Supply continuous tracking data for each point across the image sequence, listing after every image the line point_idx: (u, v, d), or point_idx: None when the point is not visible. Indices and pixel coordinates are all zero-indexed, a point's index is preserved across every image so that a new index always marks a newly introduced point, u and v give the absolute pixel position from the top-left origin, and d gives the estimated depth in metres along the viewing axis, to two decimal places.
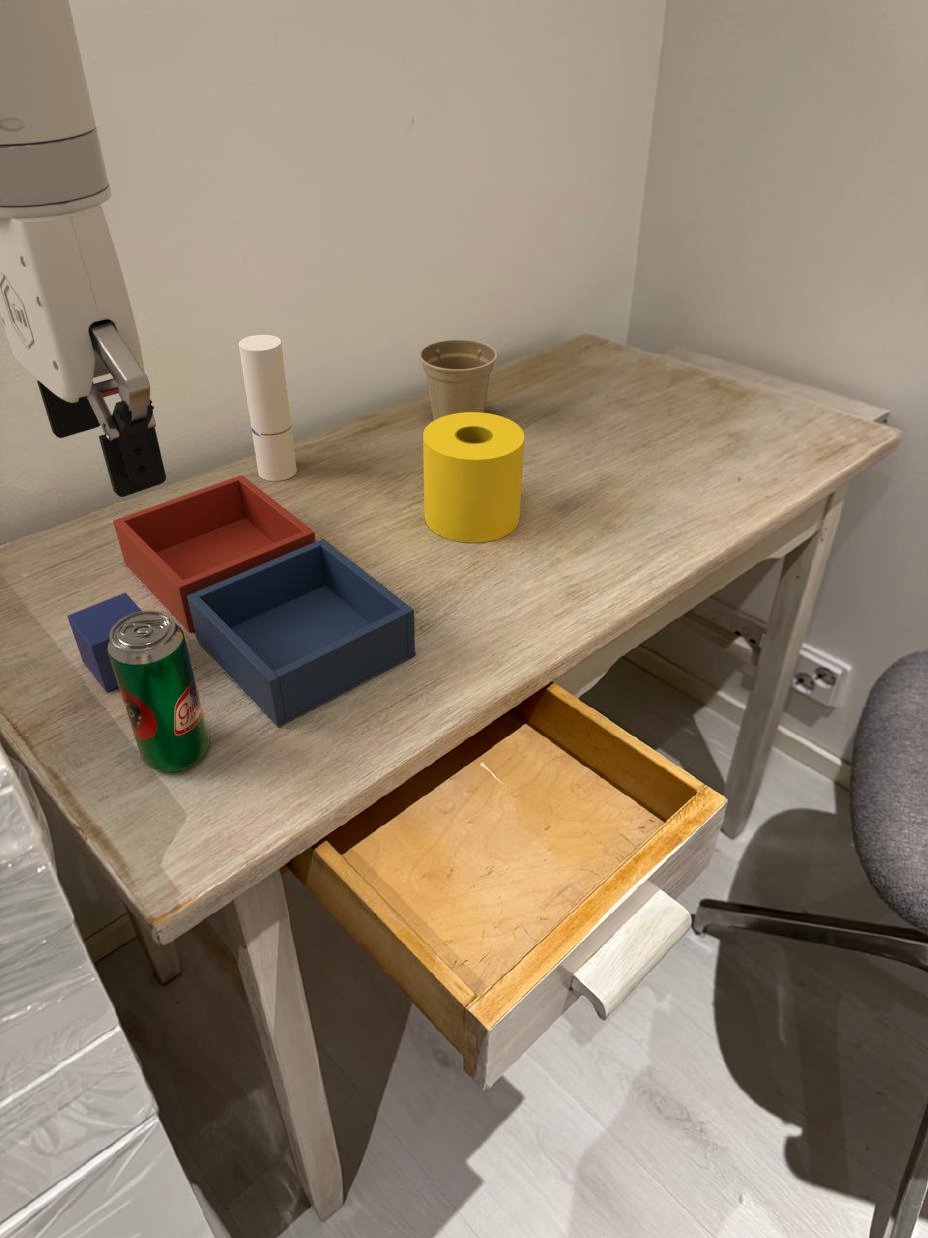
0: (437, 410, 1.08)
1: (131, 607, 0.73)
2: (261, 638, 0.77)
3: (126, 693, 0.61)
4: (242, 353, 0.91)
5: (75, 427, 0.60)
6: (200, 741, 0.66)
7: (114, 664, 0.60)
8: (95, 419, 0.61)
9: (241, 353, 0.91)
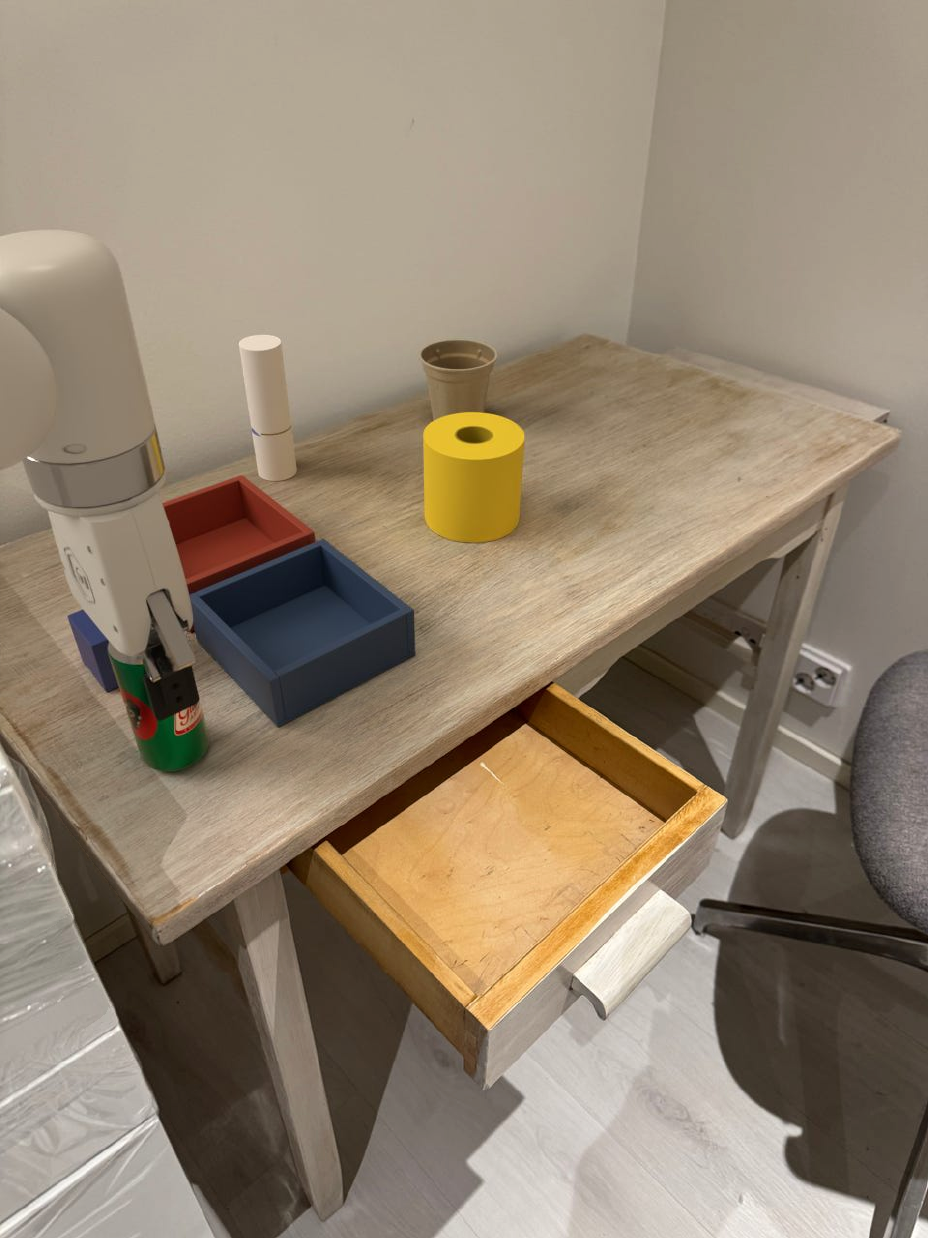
0: (437, 410, 1.08)
1: None
2: (261, 638, 0.77)
3: (126, 693, 0.61)
4: (242, 353, 0.91)
5: None
6: (200, 741, 0.66)
7: (114, 664, 0.60)
8: None
9: (241, 353, 0.91)
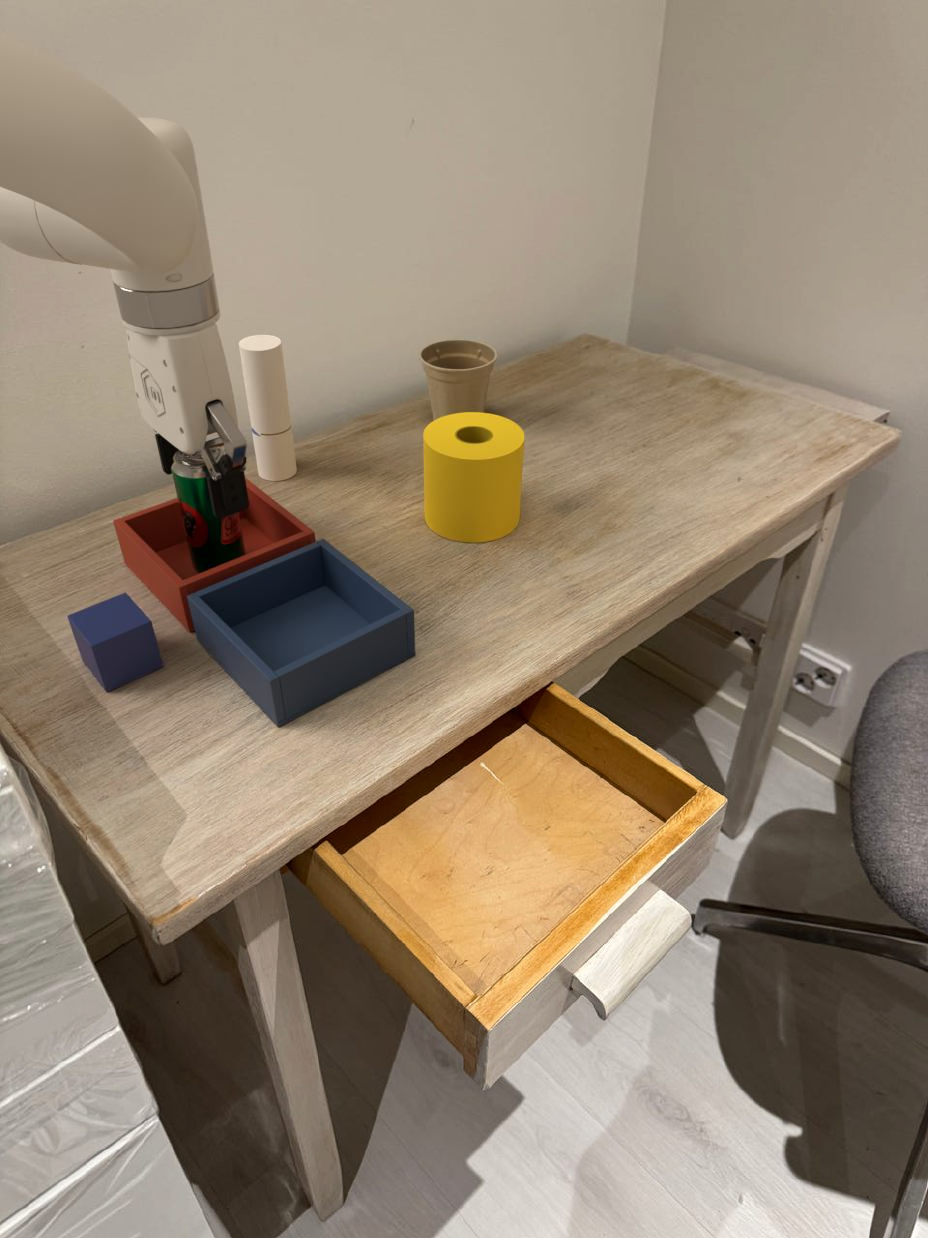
0: (437, 410, 1.08)
1: (131, 607, 0.73)
2: (261, 638, 0.77)
3: (185, 505, 0.79)
4: (242, 353, 0.91)
5: None
6: (240, 554, 0.84)
7: (177, 479, 0.78)
8: None
9: (241, 353, 0.91)
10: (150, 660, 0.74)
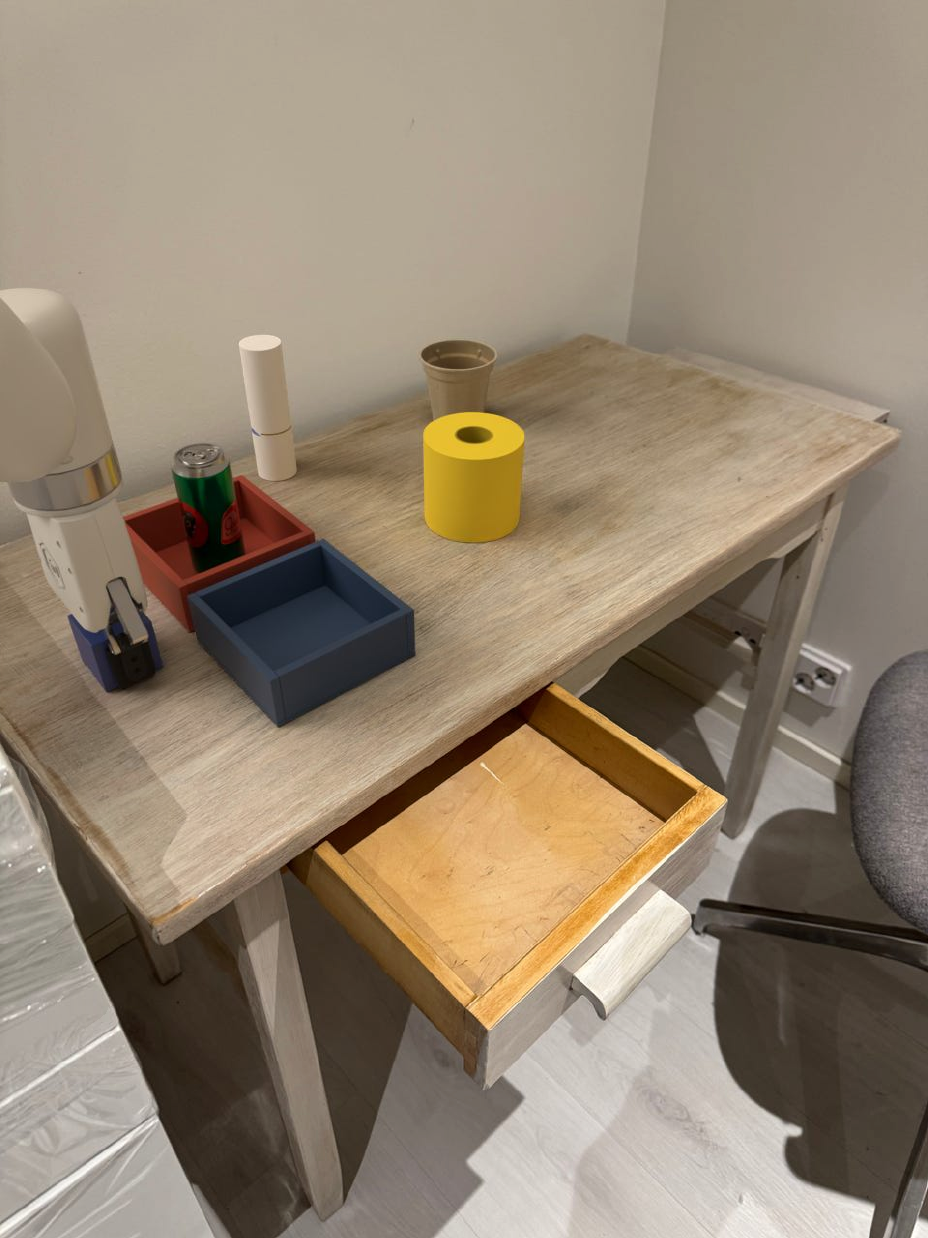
0: (437, 410, 1.08)
1: None
2: (261, 638, 0.77)
3: (185, 505, 0.79)
4: (242, 353, 0.91)
5: None
6: (240, 553, 0.84)
7: (177, 479, 0.78)
8: None
9: (241, 353, 0.91)
10: None
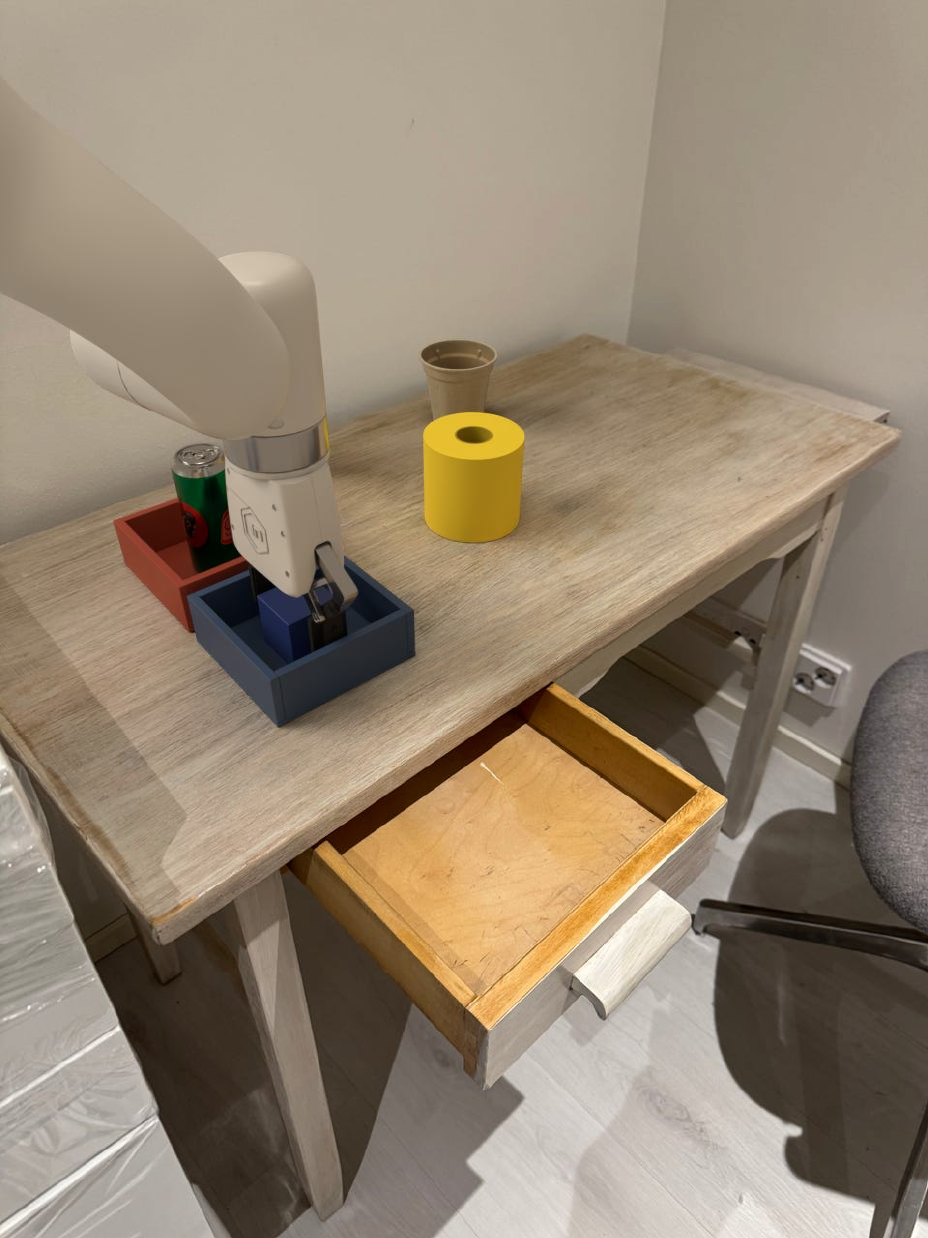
0: (437, 410, 1.08)
1: (317, 588, 0.75)
2: (261, 638, 0.77)
3: (185, 505, 0.79)
4: None
5: None
6: None
7: (177, 479, 0.78)
8: None
9: None
10: None
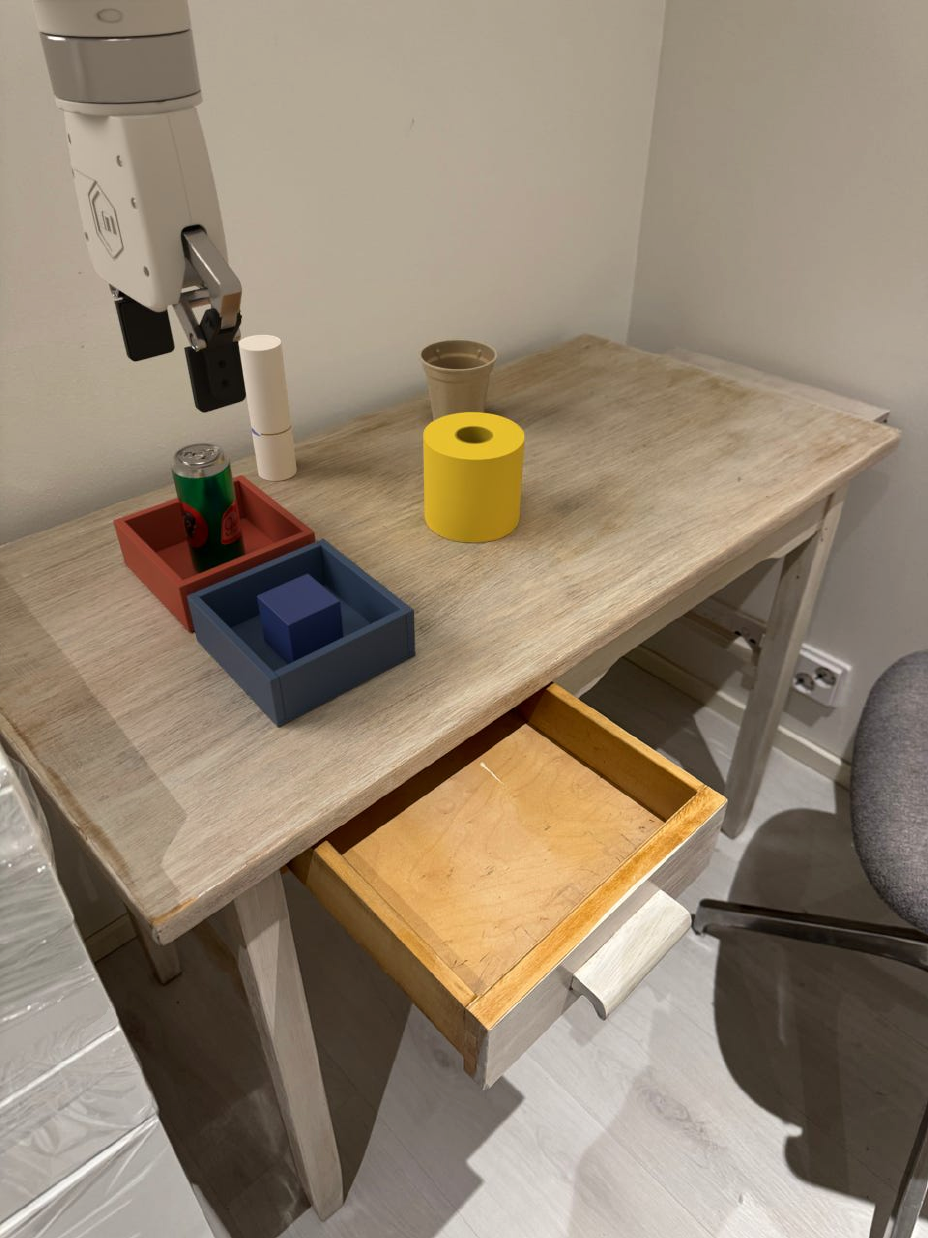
0: (437, 410, 1.08)
1: (317, 588, 0.75)
2: (261, 638, 0.77)
3: (185, 505, 0.79)
4: (242, 353, 0.91)
5: (149, 351, 0.60)
6: (240, 553, 0.84)
7: (177, 479, 0.78)
8: (168, 343, 0.60)
9: (241, 353, 0.91)
10: (334, 640, 0.75)
